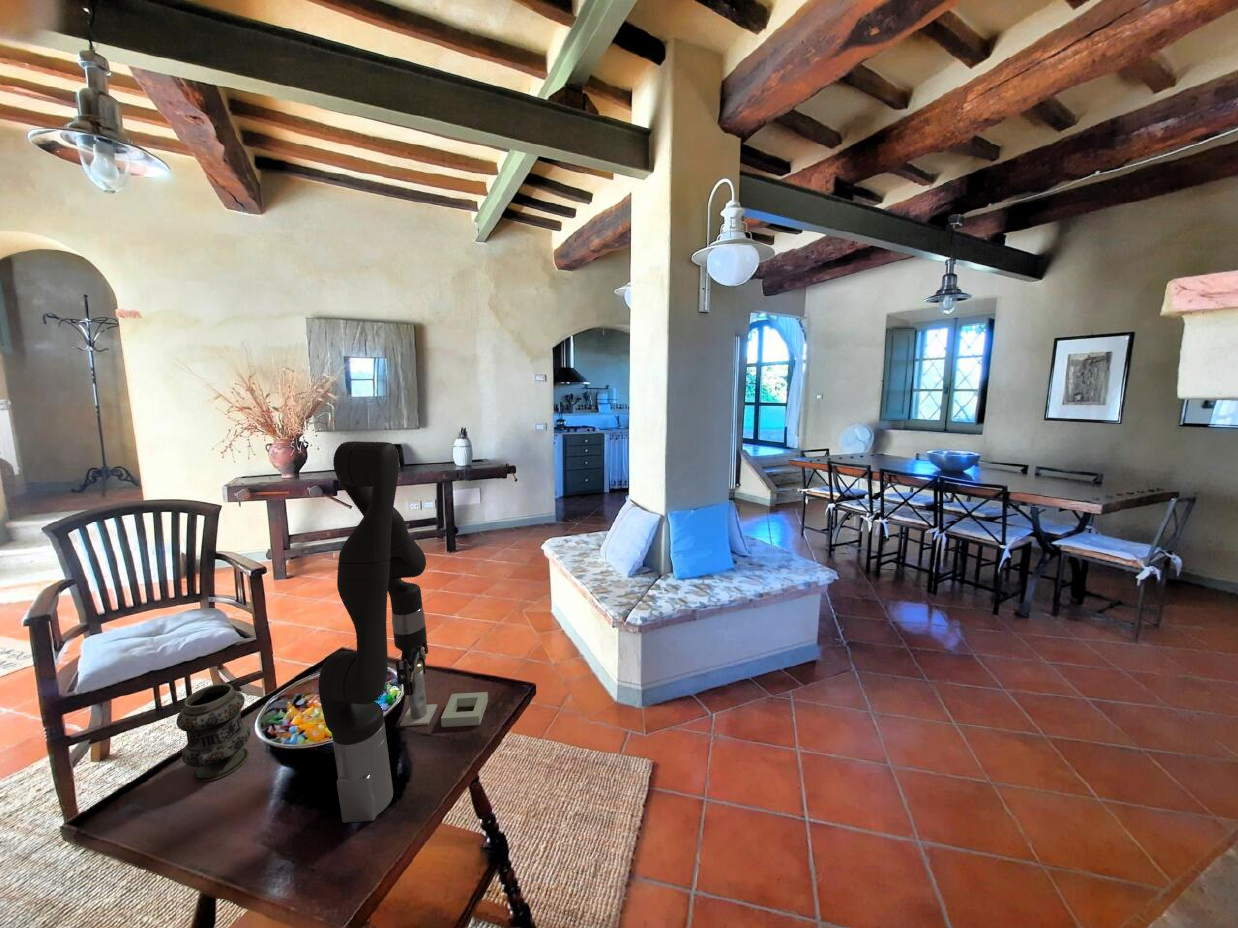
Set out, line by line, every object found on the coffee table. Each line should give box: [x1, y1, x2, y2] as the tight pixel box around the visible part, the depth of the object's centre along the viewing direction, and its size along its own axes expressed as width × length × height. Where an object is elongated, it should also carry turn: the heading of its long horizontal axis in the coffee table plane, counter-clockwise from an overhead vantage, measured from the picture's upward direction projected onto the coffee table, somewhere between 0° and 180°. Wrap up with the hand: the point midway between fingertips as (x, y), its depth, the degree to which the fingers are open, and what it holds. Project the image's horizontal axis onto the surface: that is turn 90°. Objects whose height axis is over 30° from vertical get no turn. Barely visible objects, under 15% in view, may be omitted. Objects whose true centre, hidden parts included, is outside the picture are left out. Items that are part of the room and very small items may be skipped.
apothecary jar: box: [176, 683, 251, 783], centre depth 109 cm, size 12×12×18 cm
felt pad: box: [399, 703, 438, 727], centre depth 125 cm, size 7×7×1 cm
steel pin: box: [408, 660, 428, 719], centre depth 124 cm, size 4×4×14 cm
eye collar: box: [440, 691, 489, 728], centre depth 126 cm, size 10×10×2 cm
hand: (415, 683), depth 124 cm, fingers open, 8 cm apart
